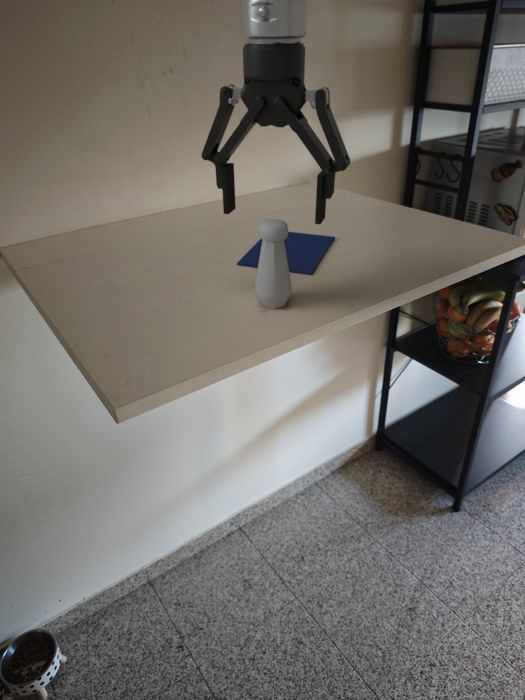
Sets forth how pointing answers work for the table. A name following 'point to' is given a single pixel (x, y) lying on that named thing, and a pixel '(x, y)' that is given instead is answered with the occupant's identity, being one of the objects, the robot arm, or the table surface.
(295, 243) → the cloth
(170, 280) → the table surface
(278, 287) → the salt shaker
